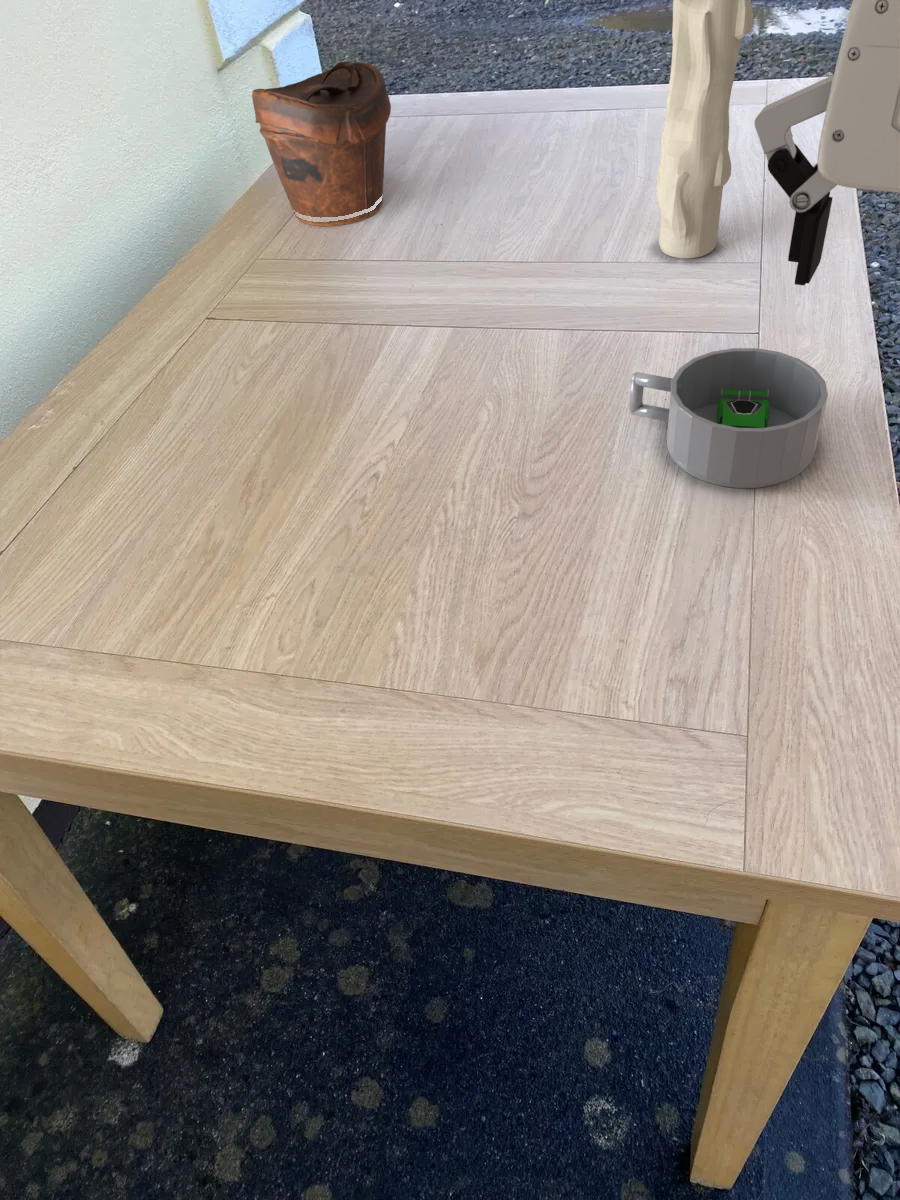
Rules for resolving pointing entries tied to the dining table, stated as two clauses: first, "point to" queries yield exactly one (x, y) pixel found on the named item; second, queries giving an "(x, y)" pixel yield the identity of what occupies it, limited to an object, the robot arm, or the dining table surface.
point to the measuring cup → (731, 449)
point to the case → (328, 140)
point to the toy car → (743, 410)
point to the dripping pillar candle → (698, 122)
